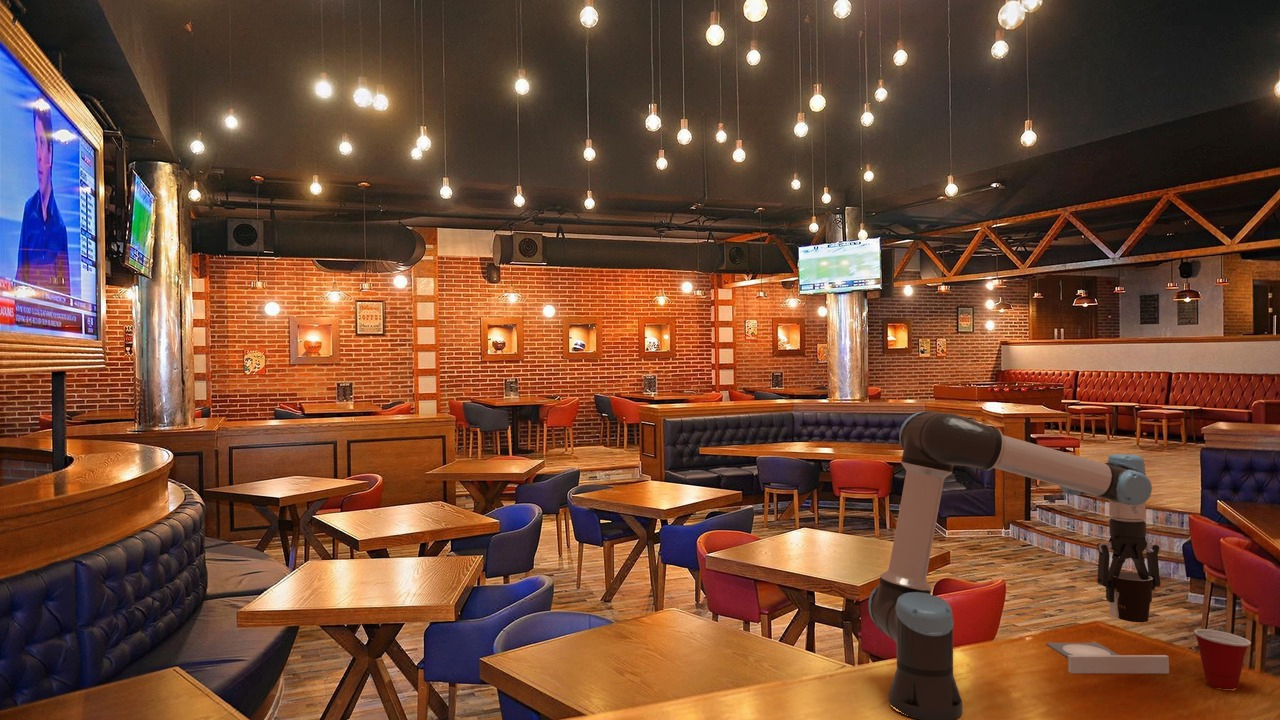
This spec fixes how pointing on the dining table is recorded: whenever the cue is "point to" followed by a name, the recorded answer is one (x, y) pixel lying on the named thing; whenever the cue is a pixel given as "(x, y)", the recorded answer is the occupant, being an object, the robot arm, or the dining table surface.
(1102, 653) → the mat
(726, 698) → the dining table surface
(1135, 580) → the coffee mug
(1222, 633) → the plastic cup
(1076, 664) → the low wall
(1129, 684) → the dining table surface
